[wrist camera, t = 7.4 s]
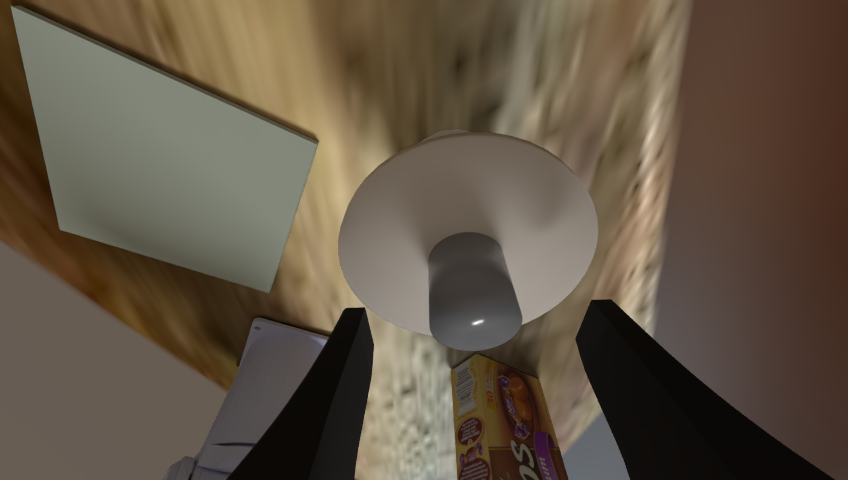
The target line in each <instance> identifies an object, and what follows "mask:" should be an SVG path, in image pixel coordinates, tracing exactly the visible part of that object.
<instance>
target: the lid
mask: <svg viewBox="0 0 848 480" xmlns="http://www.w3.org/2000/svg"><path fill="white" fill-rule="evenodd" d="M597 238H598V221H597V215H596V211H595V207H594V204H593V202H592V200H591V198H590V195H589V193H588V191H587V190H586V188H585V187H584V186H583V184H582V183H581V181H580V180H579V179H578V177H577V176H576V175H575V174H574V173H573V171H572V170H571V169H570V168H569V167H568V166H567V165H566V164H565V163H564V162H563V161H562V160H561V159H559V158H558V157H556V156H555V155H553V154H552V153H550V152H549V151H548V150H546V149H544V148H542V147H540V146H538V145H536V144H534V143H532V142H530V141H526V140H523V139H520V138H517V137H513V136H509V135H503V134H497V133H489V132H466V133H456V134H448V135H444V136H440V137H435V138H431V139H428V140H425V141H423V142H420V143H417V144H414V145H412V146H410V147H408V148H406V149H404V150H402V151H400V152H398V153H396V154H395V155H393V156H392V157H390V158H389V159H387V160H386V161H385V162H383V163H382V164H380V165H379V166H378V167H377V168H376V169H375V170H374V171H373V172H372V173H371V174H369V175H368V176H367V177H366V179H365V180H364V181H363V182H362V184H361V185H360V186H359V188H358V189H357V190H356V192H355V193H354V195H353V197H352V199H351V201H350V203H349V205H348V207H347V210H346V213H345V216H344V219H343V222H342V224H341V228H340V234H339V239H338V254H339V260H340V266H341V269H342V271H343V274H344V277H345V279H346V281H347V283H348V285H349V286H350V288H351V290H352V291H353V292H354V294H355V295H356V296H357V298H358V299H359V300H360V301H361V302H362V303H363V304H364V305H365V306H366V307H367V308H369V309H370V310H371V311H373V312H374V313H375V314H376V315H378V316H380V317H381V318H383V319H385V320H386V321H388V322H390V323H392V324H394V325H396V326H399V327H401V328H404V329H407V330H409V331H413V332H417V333H420V334H425V335H431V336H433V337H434V338H435V339H436V340H437V341H438V342H440V343H441V344H443V345H445V346H447V347H450V348H453V349H457V350H463V351H480V350H486V349H490V348H494V347H496V346H499V345H501V344H503V343H505V342H507V341H508V340H510V339H511V338H512V337H514V336H515V335H516V333H517V332H518V331H519V329H520V327H521V325H523V324H525V323H528V322H530V321H532V320H533V319H535V318H537V317H539V316H541V315H543V314H544V313H546V312H547V311H549V310H551V309H552V308H553V307H555V306H556V305H557V304H558V303H560V302H561V301H562V300H563V299H564V298H565V297H566V296H567V295H569V294H570V293H571V292H572V290H573V289H574V288H575V287H576V286H577V285H578V283H579V282H580V281H581V279H582V278H583V276H584V275H585V273H586V272H587V270H588V268H589V265H590V263H591V261H592V259H593V256H594V253H595V249H596V246H597Z"/></svg>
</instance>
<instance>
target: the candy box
mask: <svg viewBox="0 0 848 480" xmlns="http://www.w3.org/2000/svg"><path fill="white" fill-rule="evenodd" d="M451 384H452V397H453V413H454V430H455V445H456V463H457V478H458V480H568V476H567V473H566V470H565V467H564V463H563V459H562V456H561V452H560V449H559V445H558V442H557V438H556V435H555V431H554V428H553V424H552V421H551V418H550V414H549V411H548V407H547V404H546V400H545V397H544V393H543V390H542V387H541V383H540V380H539V379H537V378H534V377H532V376H530V375H527V374H525V373H522V372H520V371H517V370H515V369H513V368H511V367H508V366H506V365H503V364H501V363H498V362H496V361H494V360H492V359H489V358H487V357H484V356H482V355H479V354H474V355H473V356H471V357H470V358H468V359H467V360H465V361H464V362H462V363H461V364H459V365H458V366H457V367H455V368H454V369H452V370H451Z"/></svg>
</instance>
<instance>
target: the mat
mask: <svg viewBox="0 0 848 480" xmlns="http://www.w3.org/2000/svg"><path fill="white" fill-rule="evenodd" d="M11 9H12V14H13V18H14V23H15V28H16V32H17V37H18V41H19V46H20V50H21V55H22V59H23V64H24V69H25V73H26V78H27V82H28V87H29V91H30V96H31V100H32V105H33V110H34V114H35V119H36V123H37V128H38V132H39V137H40V141H41V146H42V151H43V155H44V160H45V164H46V169H47V173H48V178H49V182H50V187H51V192H52V196H53V201H54V205H55V210H56V214H57V219H58V223H59V228H60V230H63V231H66V232H69V233H73V234H76V235H79V236H83V237H86V238H89V239H92V240H96V241H99V242H102V243H106V244H109V245H112V246H115V247H119V248H122V249H125V250H128V251H132V252H135V253H138V254H142V255H145V256H148V257H151V258H155V259H158V260H161V261H165V262H168V263H171V264H174V265H178V266H181V267H184V268H187V269H191V270H194V271H197V272H201V273H204V274H207V275H210V276H214V277H217V278H220V279H224V280H227V281H230V282H233V283H237V284H240V285H243V286H247V287H250V288H253V289H256V290H260V291H263V292H266V293H269V292H270V290H271V288H272V285H273V282H274V279H275V276H276V272H277V269H278V266H279V263H280V260H281V257H282V254H283V251H284V248H285V245H286V242H287V239H288V236H289V233H290V230H291V226H292V223H293V220H294V217H295V214H296V211H297V208H298V205H299V202H300V199H301V196H302V193H303V190H304V187H305V183H306V180H307V177H308V174H309V171H310V168H311V165H312V162H313V159H314V156H315V153H316V150H317V147H318V144H319V142H318V141H316V140H314V139H312V138H309V137H307V136H305V135H303V134H301V133H298V132H296V131H294V130H292V129H290V128H288V127H285V126H283V125H281V124H279V123H277V122H274V121H272V120H270V119H268V118H266V117H263V116H261V115H259V114H257V113H255V112H252V111H250V110H248V109H246V108H244V107H241V106H239V105H237V104H235V103H233V102H230V101H228V100H226V99H224V98H222V97H220V96H217V95H215V94H213V93H211V92H209V91H206V90H204V89H202V88H200V87H198V86H195V85H193V84H191V83H189V82H187V81H184V80H182V79H180V78H178V77H176V76H173V75H171V74H169V73H167V72H165V71H163V70H160V69H158V68H156V67H154V66H152V65H149V64H147V63H145V62H143V61H141V60H138V59H136V58H134V57H132V56H130V55H127V54H125V53H123V52H121V51H119V50H116V49H114V48H112V47H110V46H108V45H105V44H103V43H101V42H99V41H97V40H95V39H92V38H90V37H88V36H86V35H84V34H81V33H79V32H77V31H75V30H73V29H70V28H68V27H66V26H64V25H62V24H59V23H57V22H55V21H53V20H51V19H48V18H46V17H44V16H42V15H40V14H37V13H35V12H33V11H31V10H29V9H27V8H24V7H22V6H11Z"/></svg>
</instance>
